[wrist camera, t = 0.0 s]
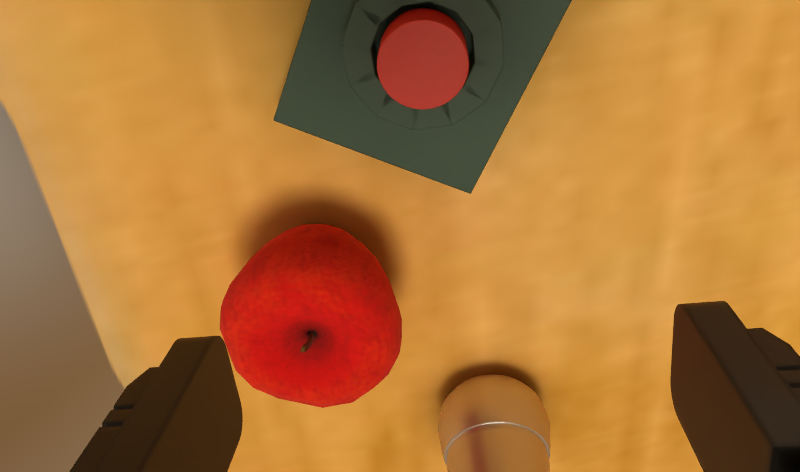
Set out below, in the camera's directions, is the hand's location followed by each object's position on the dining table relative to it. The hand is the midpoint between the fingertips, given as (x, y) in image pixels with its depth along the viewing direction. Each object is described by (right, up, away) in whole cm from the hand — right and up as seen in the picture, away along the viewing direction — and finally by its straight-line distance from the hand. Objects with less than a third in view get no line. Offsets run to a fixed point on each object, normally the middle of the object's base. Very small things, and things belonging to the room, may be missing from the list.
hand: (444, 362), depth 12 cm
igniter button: (0, +10, +16) cm, 19 cm away
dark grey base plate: (0, +12, +19) cm, 22 cm away
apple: (-5, +1, +26) cm, 27 cm away
